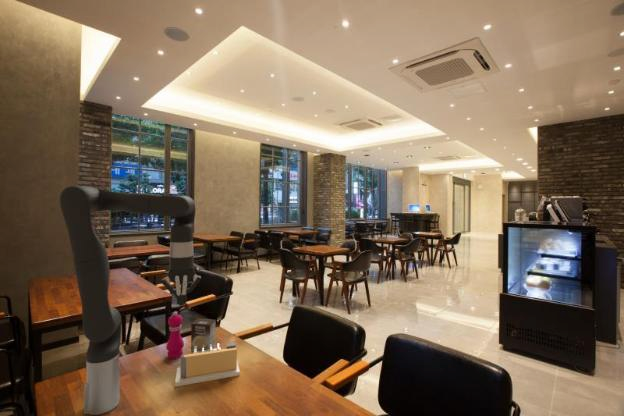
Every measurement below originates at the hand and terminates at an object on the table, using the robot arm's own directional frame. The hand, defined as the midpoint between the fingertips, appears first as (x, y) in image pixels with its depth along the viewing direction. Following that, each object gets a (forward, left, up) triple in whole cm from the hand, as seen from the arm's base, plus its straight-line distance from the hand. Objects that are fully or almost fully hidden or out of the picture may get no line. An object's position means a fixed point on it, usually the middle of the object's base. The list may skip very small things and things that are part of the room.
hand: (181, 305), depth 103 cm
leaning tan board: (+9, +15, -33) cm, 38 cm away
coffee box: (+7, +32, -35) cm, 48 cm away
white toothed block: (+9, +20, -34) cm, 40 cm away
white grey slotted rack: (+9, +17, -35) cm, 40 cm away
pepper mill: (-5, +37, -35) cm, 51 cm away
